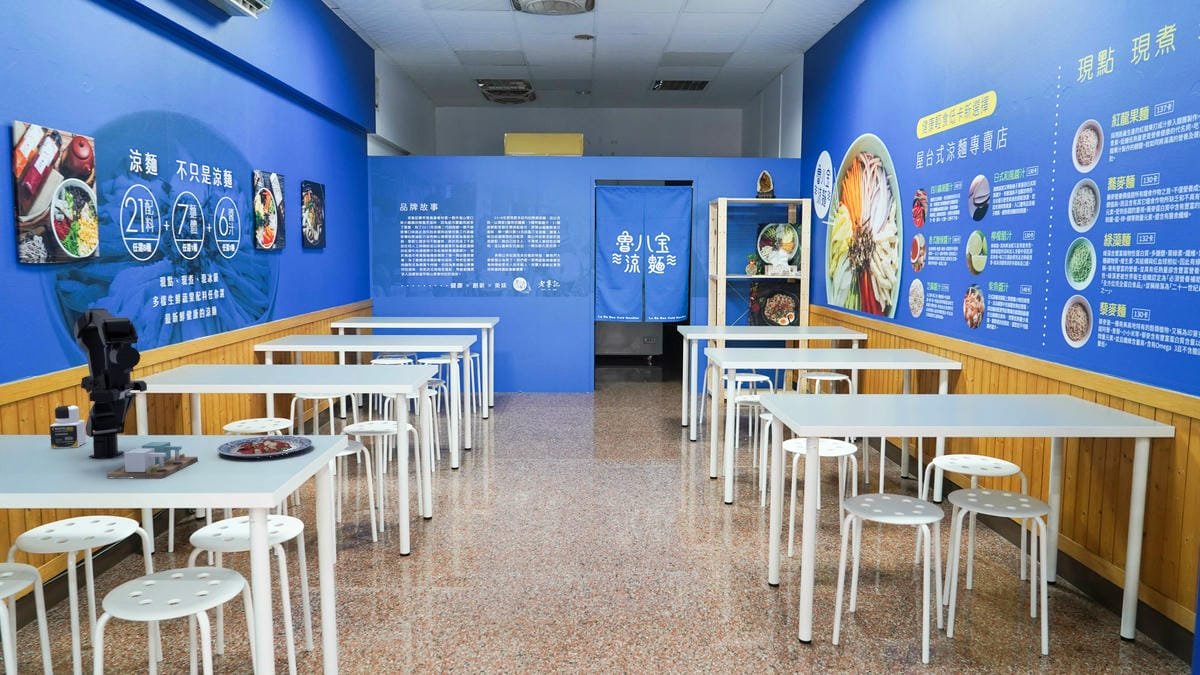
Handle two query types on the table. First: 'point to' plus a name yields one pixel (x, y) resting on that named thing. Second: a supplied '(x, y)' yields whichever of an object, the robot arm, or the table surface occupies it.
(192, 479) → the table surface
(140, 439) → the table surface
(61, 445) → the medicine bottle
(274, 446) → the ceramic plate
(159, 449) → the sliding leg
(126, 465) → the fixed leg
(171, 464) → the board
